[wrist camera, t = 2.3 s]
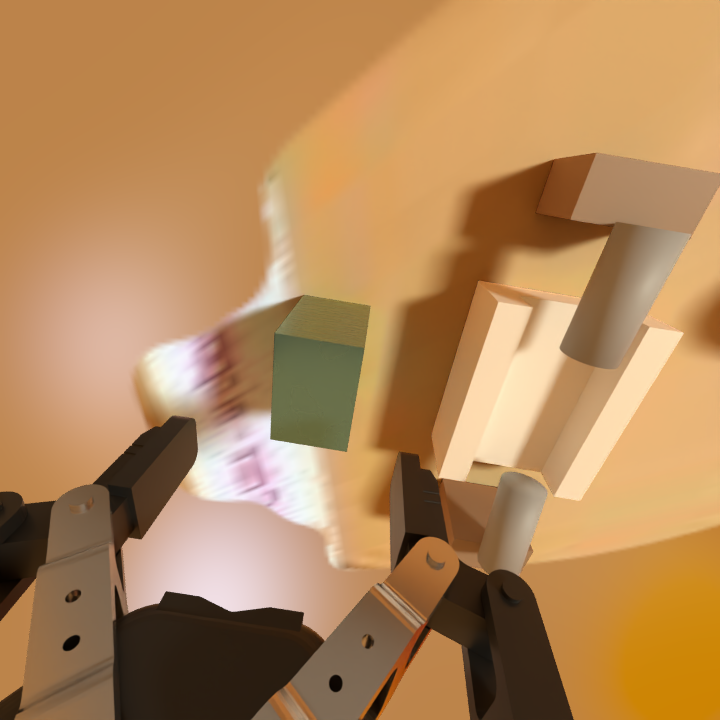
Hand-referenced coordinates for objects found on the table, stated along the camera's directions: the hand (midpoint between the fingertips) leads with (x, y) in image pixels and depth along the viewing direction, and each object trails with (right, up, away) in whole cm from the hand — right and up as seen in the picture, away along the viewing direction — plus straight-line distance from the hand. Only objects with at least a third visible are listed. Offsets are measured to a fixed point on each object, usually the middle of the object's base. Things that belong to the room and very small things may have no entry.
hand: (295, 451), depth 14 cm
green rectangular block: (+1, +4, +8) cm, 10 cm away
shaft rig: (+13, +2, +8) cm, 15 cm away
